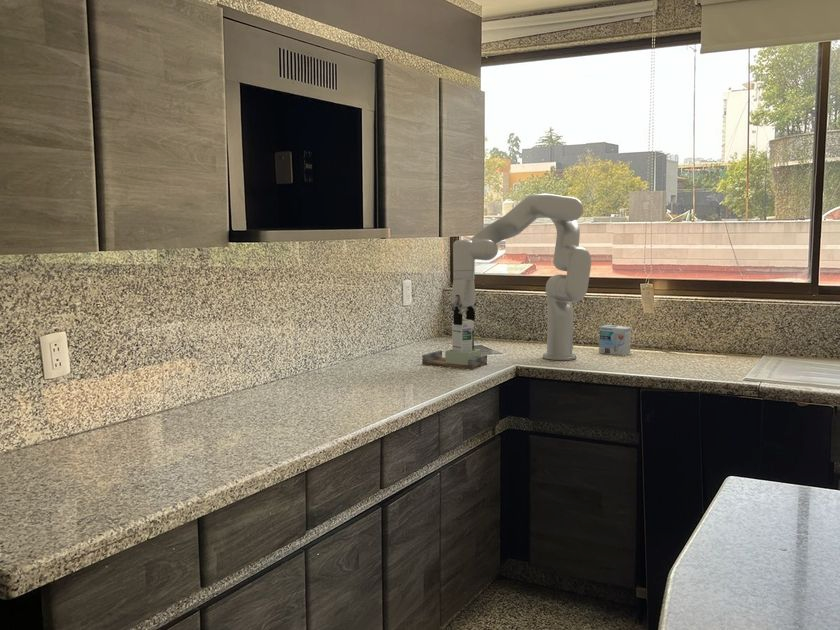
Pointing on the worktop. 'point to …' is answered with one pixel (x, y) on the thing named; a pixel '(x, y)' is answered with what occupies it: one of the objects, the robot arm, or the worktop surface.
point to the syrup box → (463, 336)
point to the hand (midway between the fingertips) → (464, 322)
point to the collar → (460, 356)
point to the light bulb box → (615, 339)
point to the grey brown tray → (438, 360)
